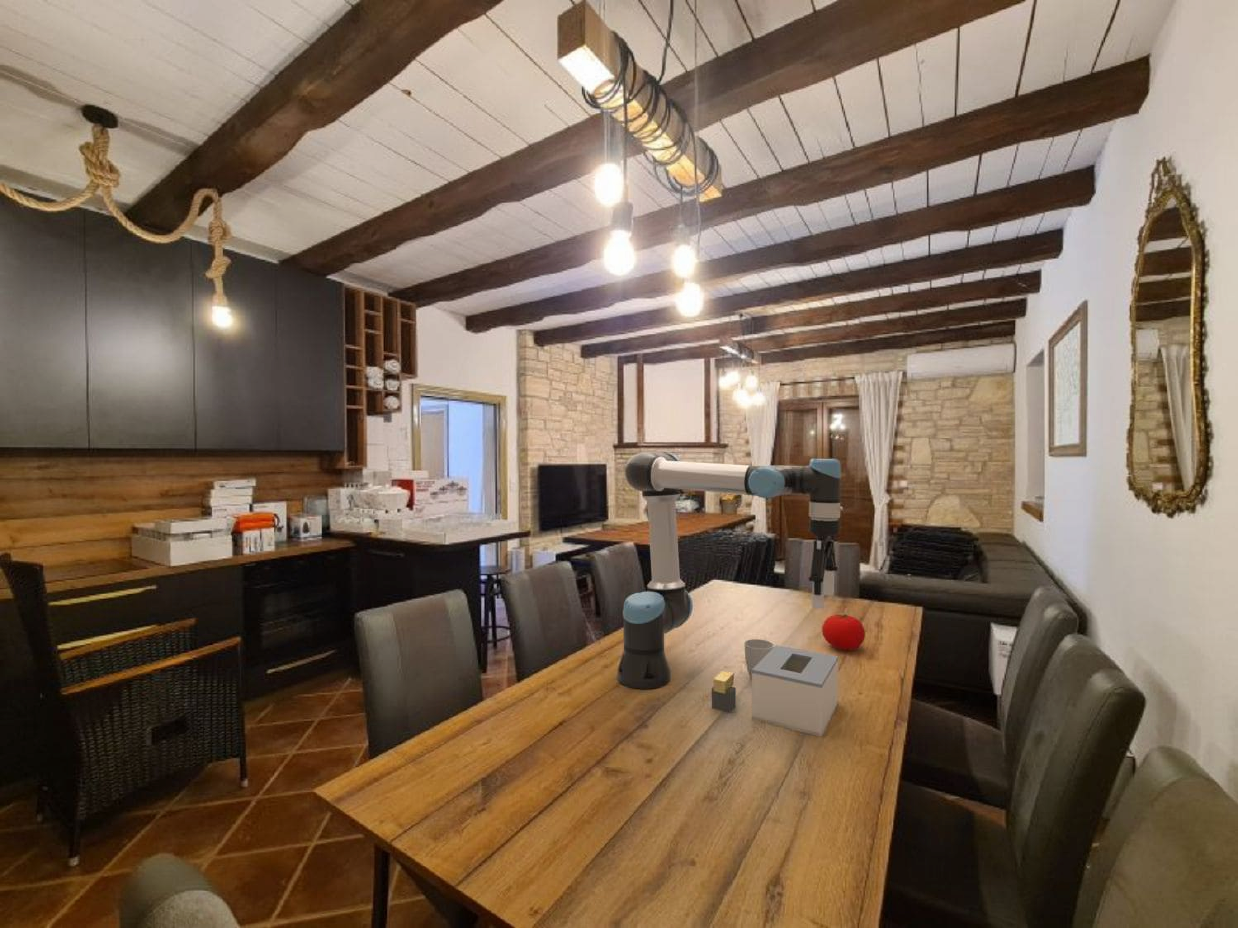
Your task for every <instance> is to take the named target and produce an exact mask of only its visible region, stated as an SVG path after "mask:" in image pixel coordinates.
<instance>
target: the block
mask: <svg viewBox="0 0 1238 928" xmlns="http://www.w3.org/2000/svg"><path fill="white" fill-rule="evenodd" d="M736 688H737V687H735V686H732V687H731V688H730V689H729V690H728V691H727V692H726V693H725V694H724V693H720V692H716V691H714V686H712V687H711V709H714V710H718V711H723V712H726V713H732V712H733V711H734V710H735V709H736V707H737V706H736V703H737V701H736V699H737V695H736V693H737V691H736V690H737V689H736Z"/></svg>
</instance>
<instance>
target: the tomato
mask: <svg viewBox="0 0 1238 928" xmlns="http://www.w3.org/2000/svg"><path fill="white" fill-rule="evenodd" d="M821 630H822V631H821V633H822V636H823V639H824V640H825V641H826V642H827V643H828V644H830V645H831V646H832V647H834V648H836V649H838V650H842V651H853V650H857V649H859V647H861V645H862V644H863V642H864V641H865V636H866V631H865V628H864V626H863V624H862V622H861V621H860V620H859V619H858V618H857V617H854V616H851V615H848V614H834V615H831V616H828V617H826V619H825V620H824V622H823V624H822V627H821Z"/></svg>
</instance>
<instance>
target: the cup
mask: <svg viewBox="0 0 1238 928" xmlns="http://www.w3.org/2000/svg"><path fill="white" fill-rule="evenodd" d="M743 647H744V655H745V656H744V657H745V664H746V665H745V666H746V670H747V673H748V677H749V679H750V681H752V669H753V668H754V667H755V666H756V665H757V664H758V663H759V662H760V661H761V660H762V659H763V658H764V657H765V656H766V655H767V654H768V653H769V652H770V651H771V650H772V649H773V648H774V647H775V645H774V643H773V642H771V641H769V640H765V639H761V638H760V639H759V638H752V639H748V640H745V641H744V646H743Z"/></svg>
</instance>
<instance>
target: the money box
mask: <svg viewBox="0 0 1238 928" xmlns="http://www.w3.org/2000/svg"><path fill="white" fill-rule="evenodd" d="M838 704H839V656H836V655H832V654H826V653H822V652H815V651H810V650H806V649H800V648H794V647H789V646H783V645H777V644H776V645H774V648H773V649H772V650H771V651H770V652H769V653H768V654H767V655H766V656H765V657H764V658H763V659H762V660H761V661H760V662H759V663H758V664H757V665H756V666H755V667H754V668H753V669H752V680H751V705H752V706H751V720H755V721H759V722H763V723H765V724H769V725H773V726H777V727H780V728H784V729H789V730H793V731H796V732H800V733H803V734H808V735H811V736H815V737H819V738H822V737H823V735H824V732H825V731H826V729H827V726H828V724H829V723H830V720H831V718H832V717H833V714H834V712H835V710H836V708H837V706H838Z"/></svg>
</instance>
